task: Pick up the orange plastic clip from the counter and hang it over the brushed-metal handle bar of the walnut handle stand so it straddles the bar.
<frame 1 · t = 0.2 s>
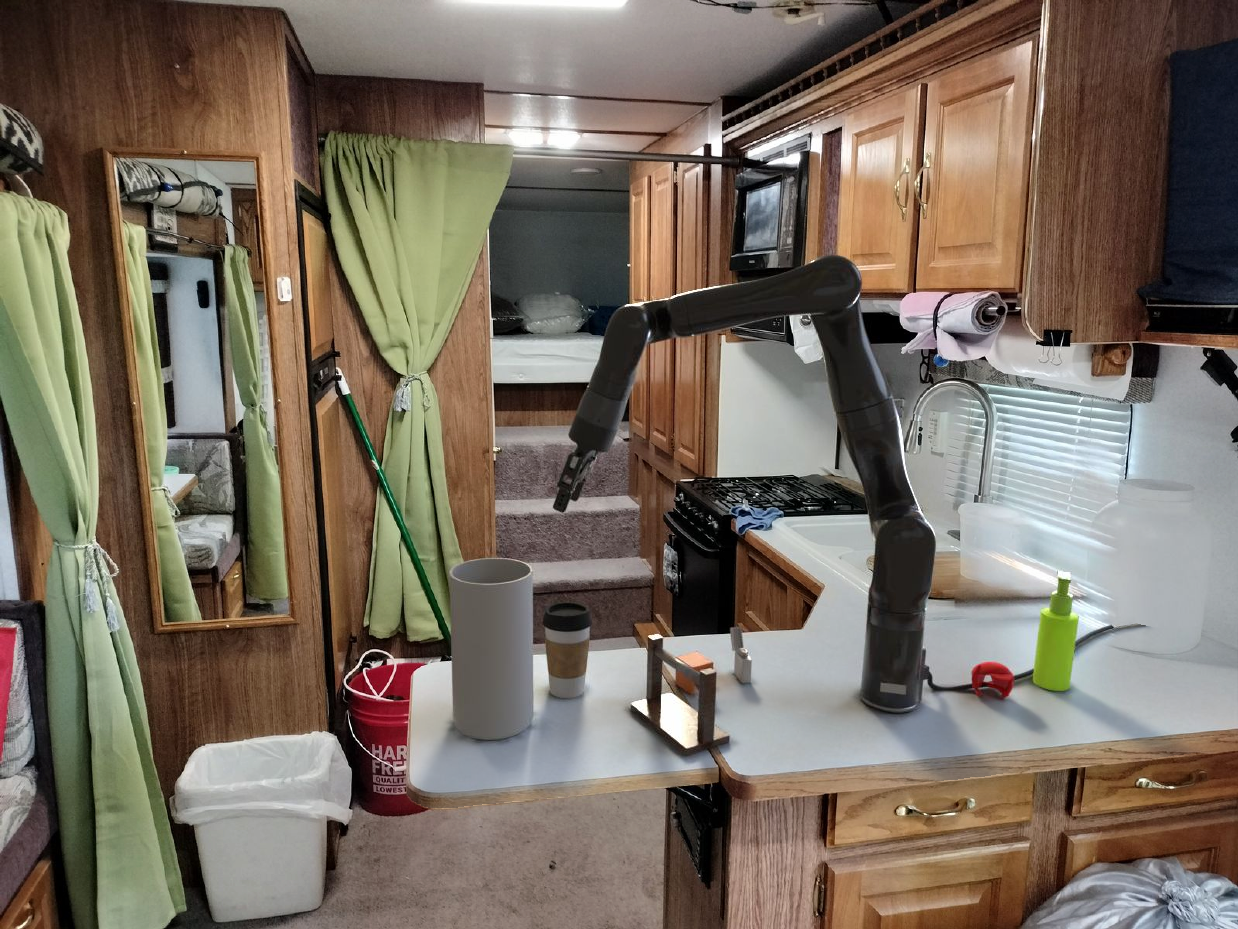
hand: (565, 504, 146), 31 cm above the table, tool tilted 20°, fingers open, 8 cm apart
coffee cup: (567, 691, 145), on the table
clip: (693, 686, 147), on the table
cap: (989, 696, 145), on the table
cylinder vase: (493, 722, 134), on the table
handle stand: (678, 725, 133), on the table
lighter: (739, 675, 152), on the table
soap dispenser: (1050, 683, 151), on the table
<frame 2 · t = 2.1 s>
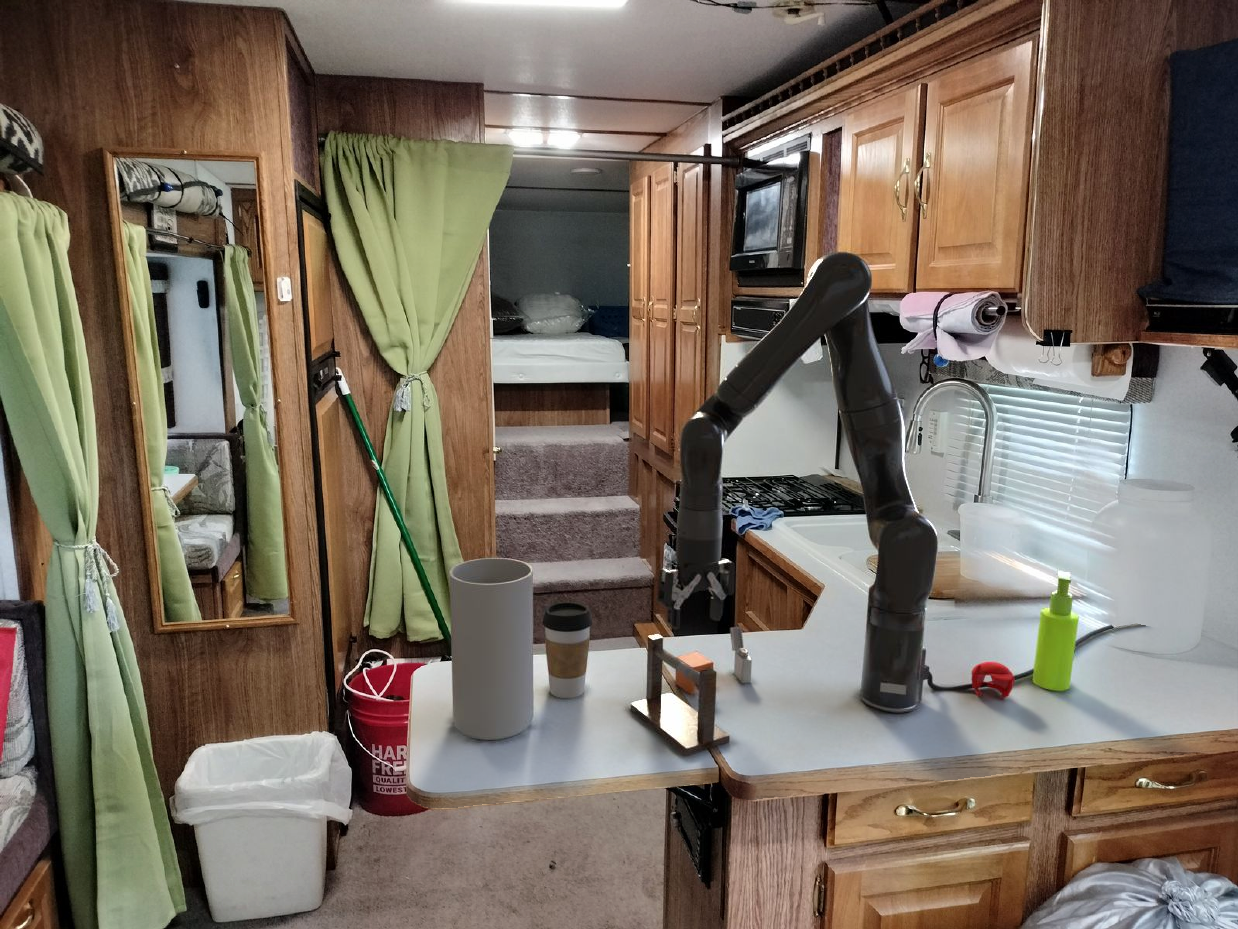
hand: (695, 623, 145), 12 cm above the table, tool pointing down, fingers open, 8 cm apart
nothing on the table moved.
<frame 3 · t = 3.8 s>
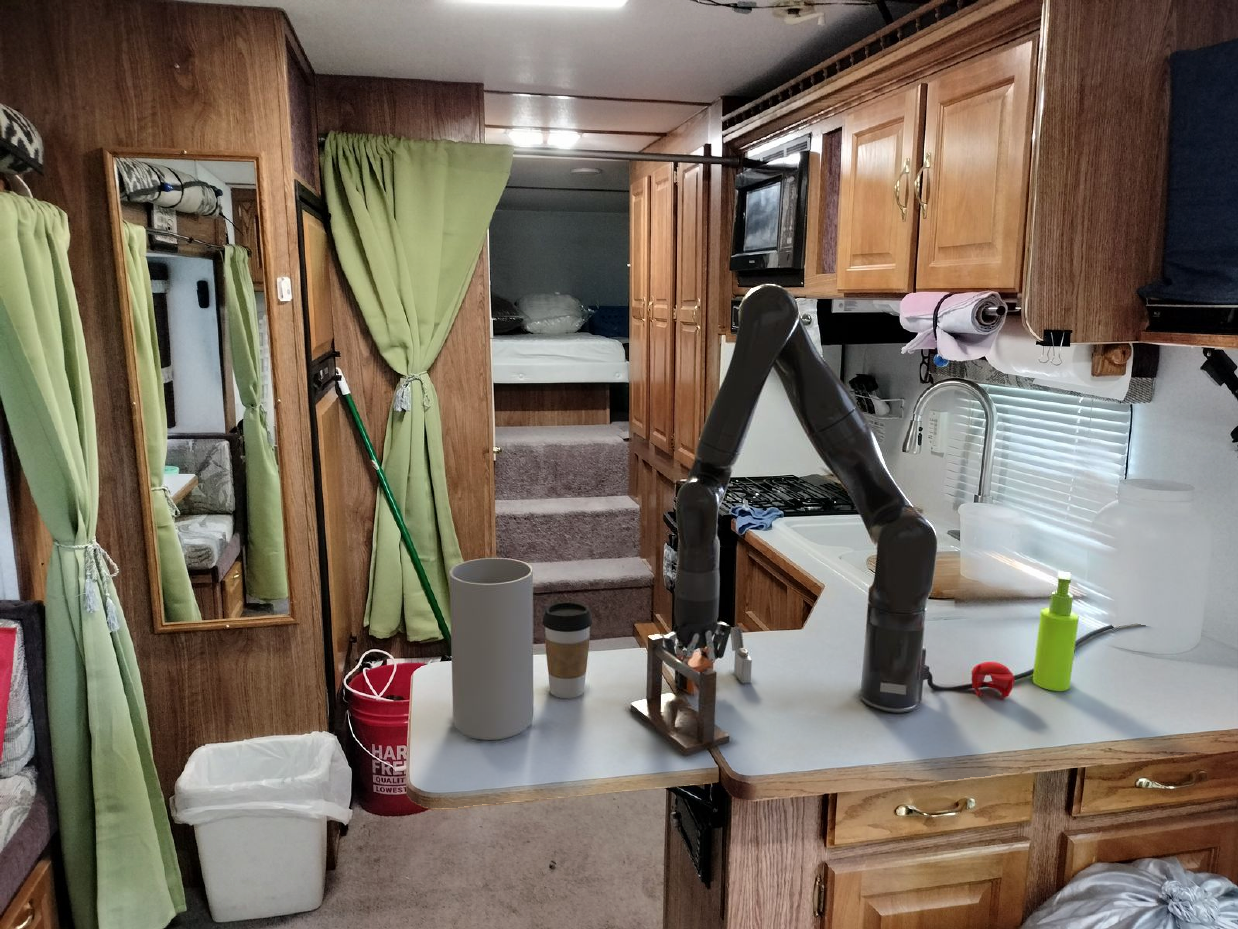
hand: (693, 684, 147), 0 cm above the table, tool pointing down, fingers closed on clip, 4 cm apart
clip: (693, 686, 147), on the table, touching gripper
everything else where it was.
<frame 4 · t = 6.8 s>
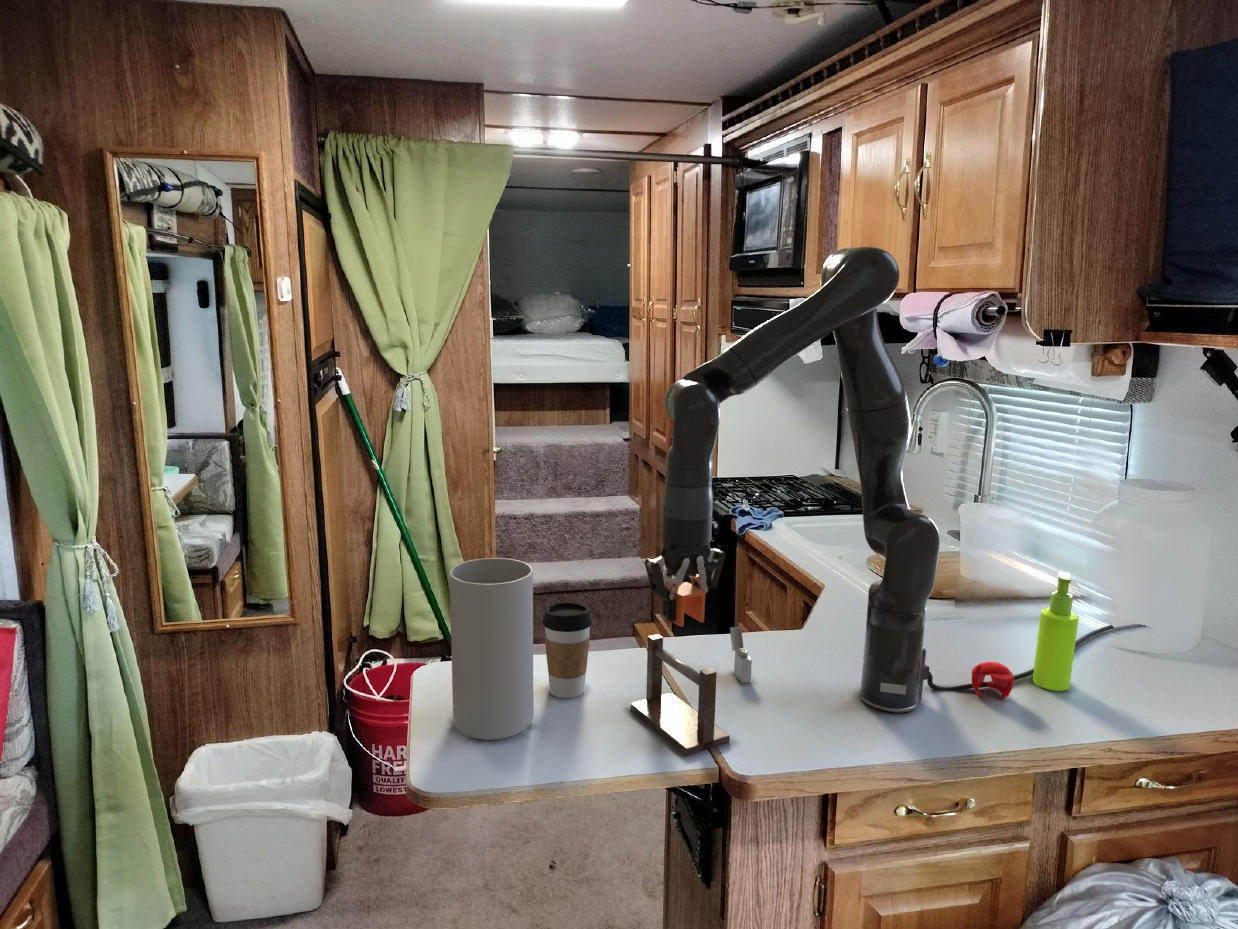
hand: (683, 617, 132), 17 cm above the table, tool pointing down, fingers closed on clip, 4 cm apart
clip: (683, 619, 132), point 17 cm above the table, touching gripper
everything else where it was.
when the fingers open (7 cm above the table, at t = 9.8 s): clip stays where it is, resting on handle stand.
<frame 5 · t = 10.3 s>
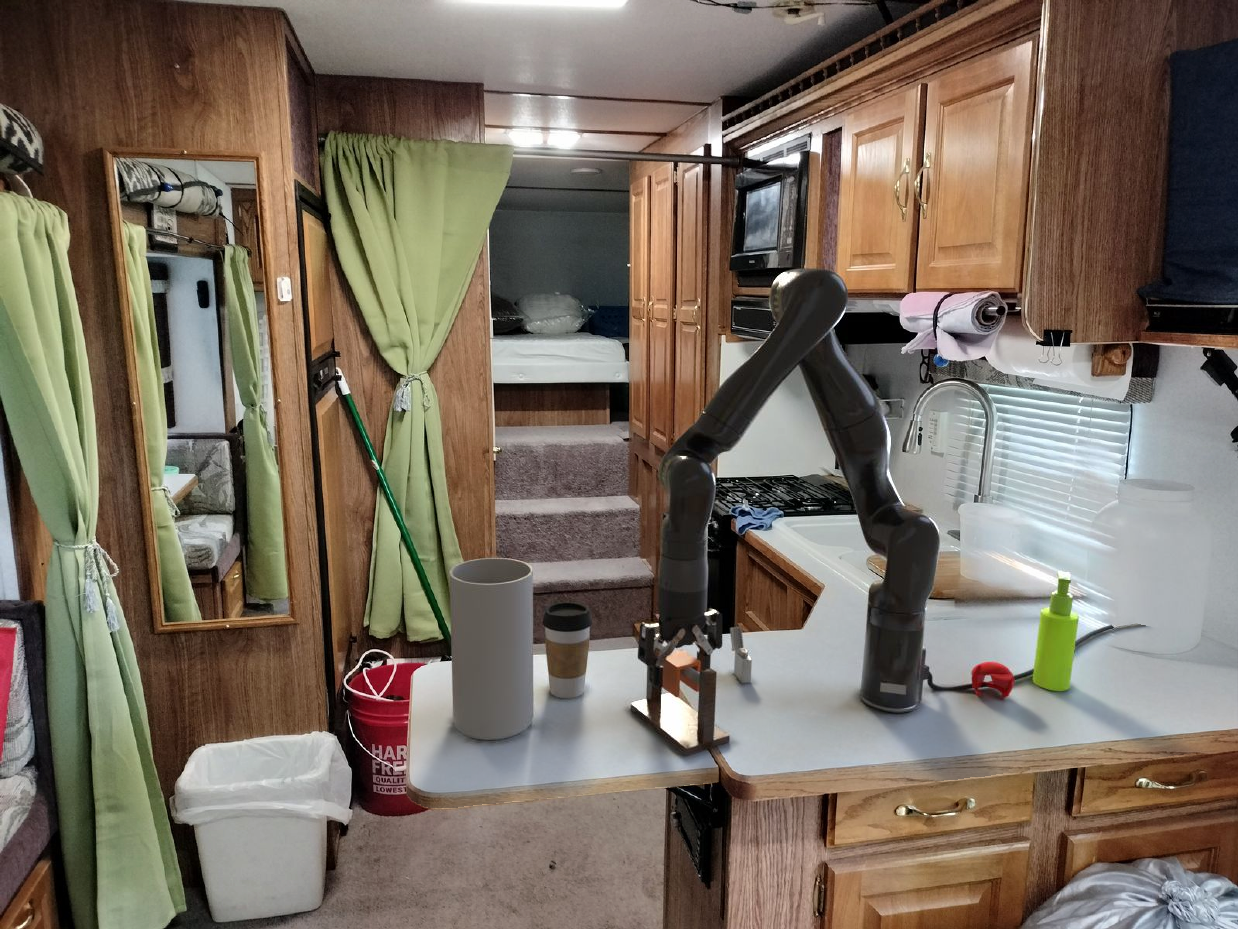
hand: (679, 680, 132), 8 cm above the table, tool pointing down, fingers open, 8 cm apart
clip: (678, 688, 132), point 6 cm above the table, touching handle stand
everything else where it was.
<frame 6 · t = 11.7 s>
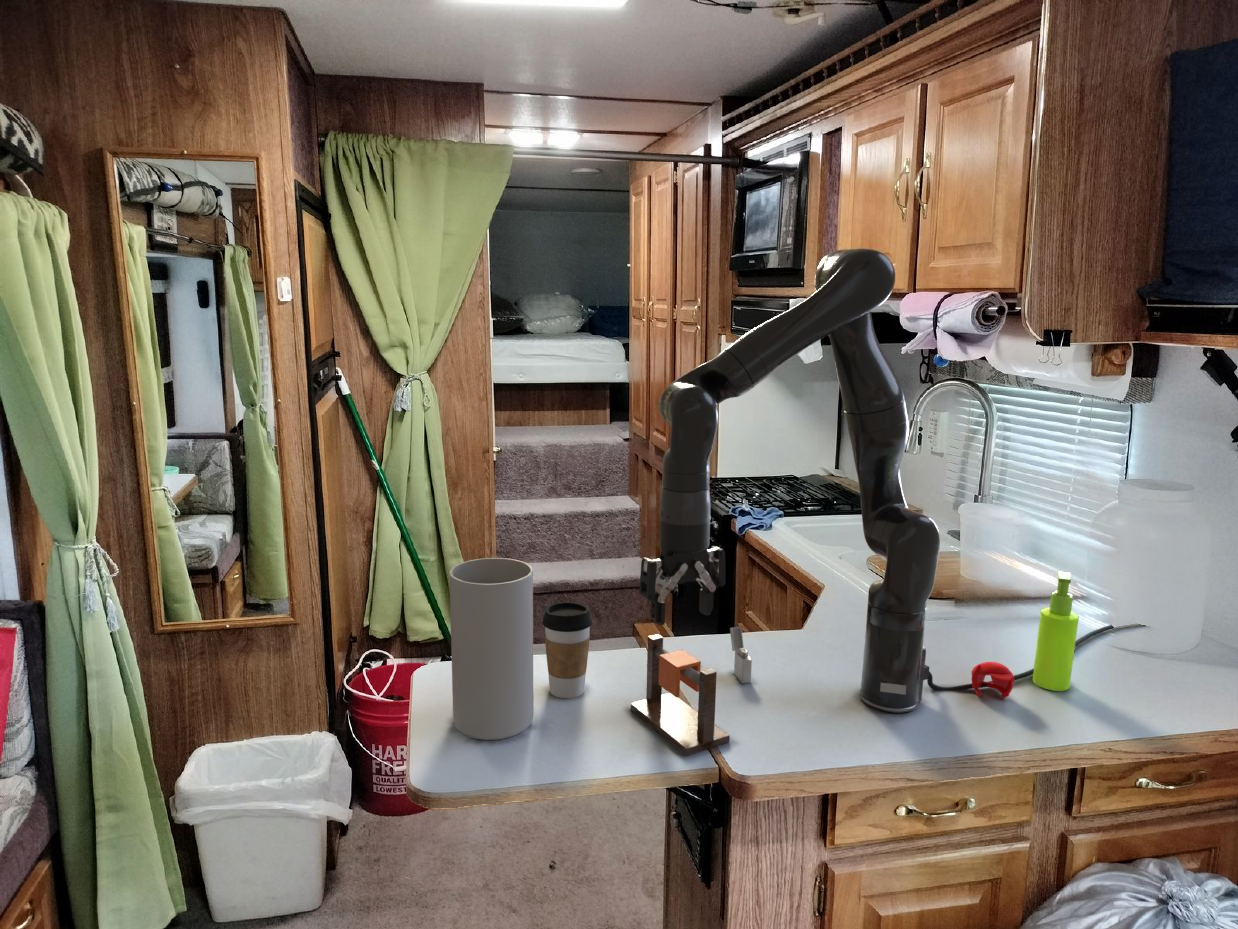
hand: (682, 618, 130), 18 cm above the table, tool pointing down, fingers open, 8 cm apart
nothing on the table moved.
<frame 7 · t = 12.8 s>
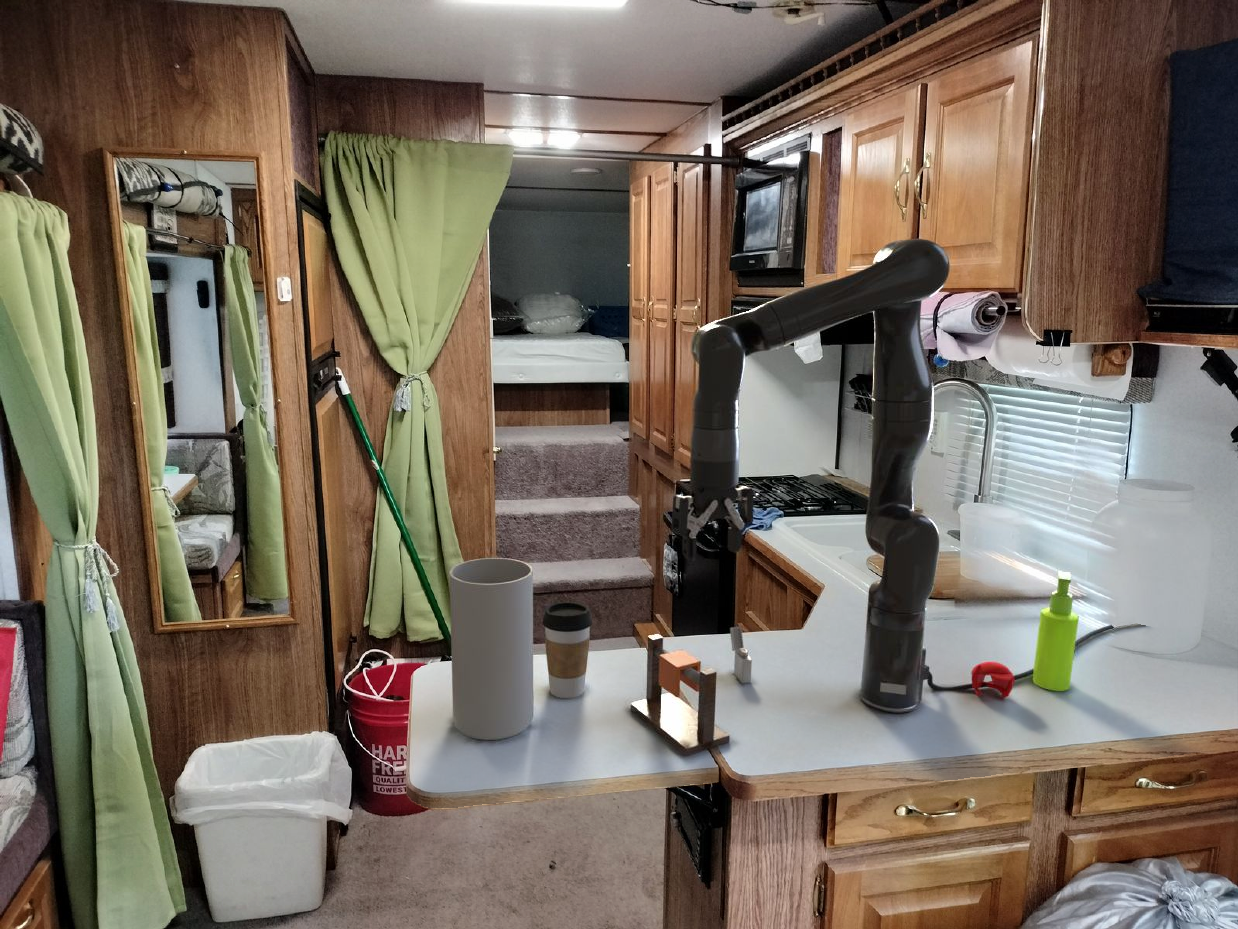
hand: (712, 555, 134), 26 cm above the table, tool pointing down, fingers open, 8 cm apart
nothing on the table moved.
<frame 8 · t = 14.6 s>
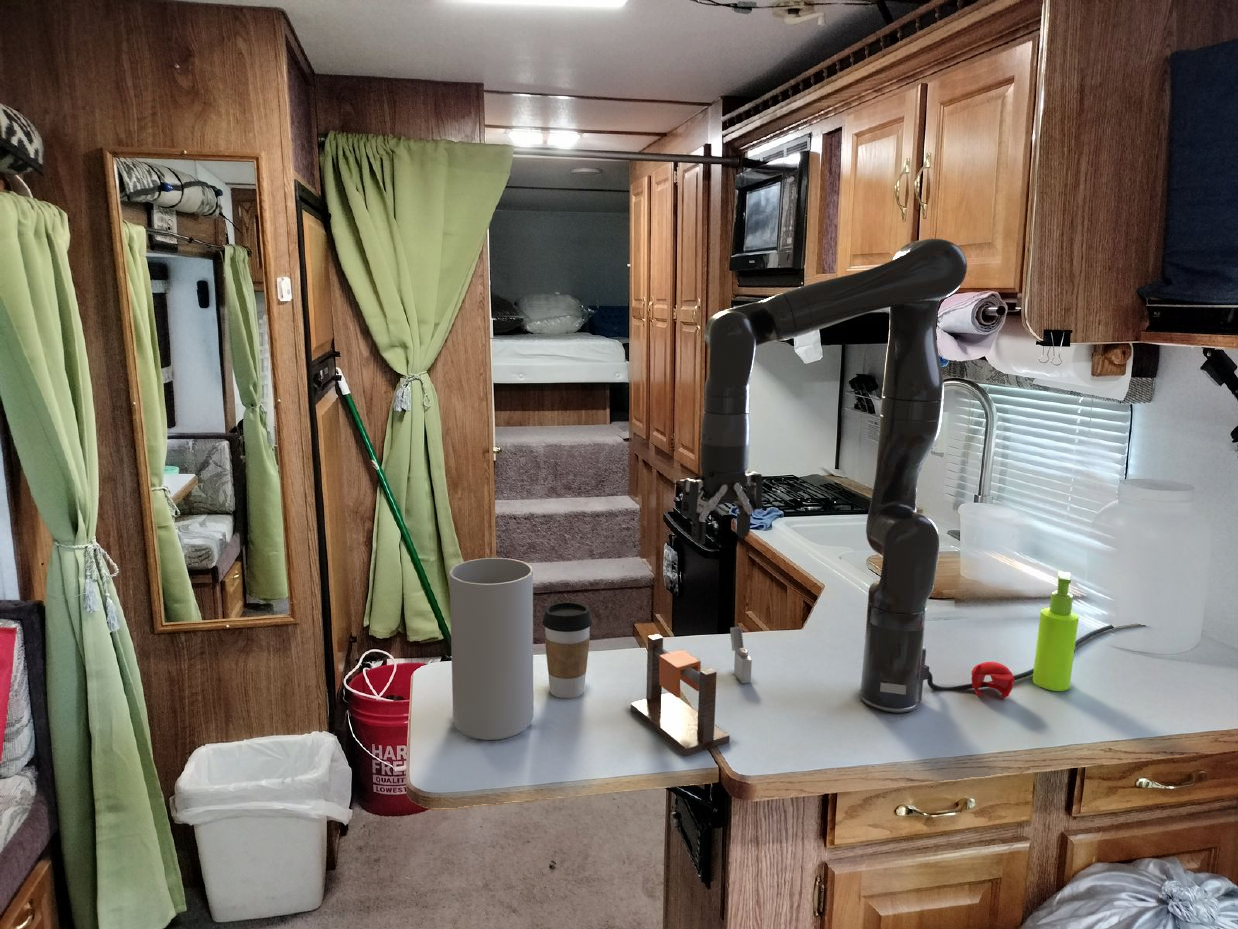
hand: (721, 539, 136), 28 cm above the table, tool pointing down, fingers open, 8 cm apart
nothing on the table moved.
at the end: clip 0.1 cm off-centre on the handle stand, point 6.4 cm above the handle stand's base; clip touching handle stand; clip tilted 2° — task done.
